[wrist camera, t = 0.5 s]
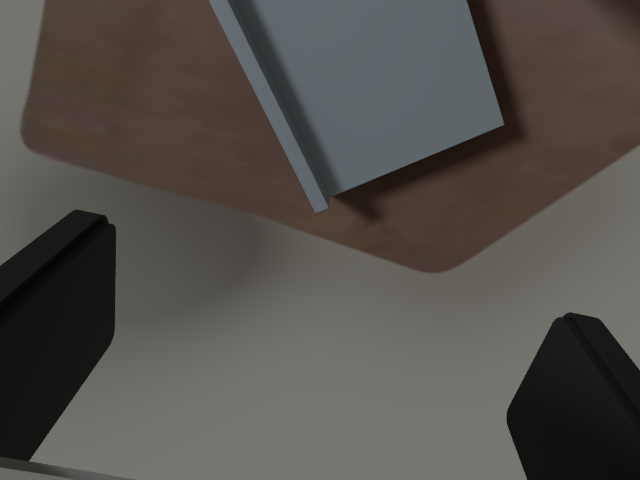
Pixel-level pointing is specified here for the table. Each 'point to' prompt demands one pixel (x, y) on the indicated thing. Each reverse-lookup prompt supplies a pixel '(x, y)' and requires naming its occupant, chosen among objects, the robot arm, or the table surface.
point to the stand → (362, 82)
